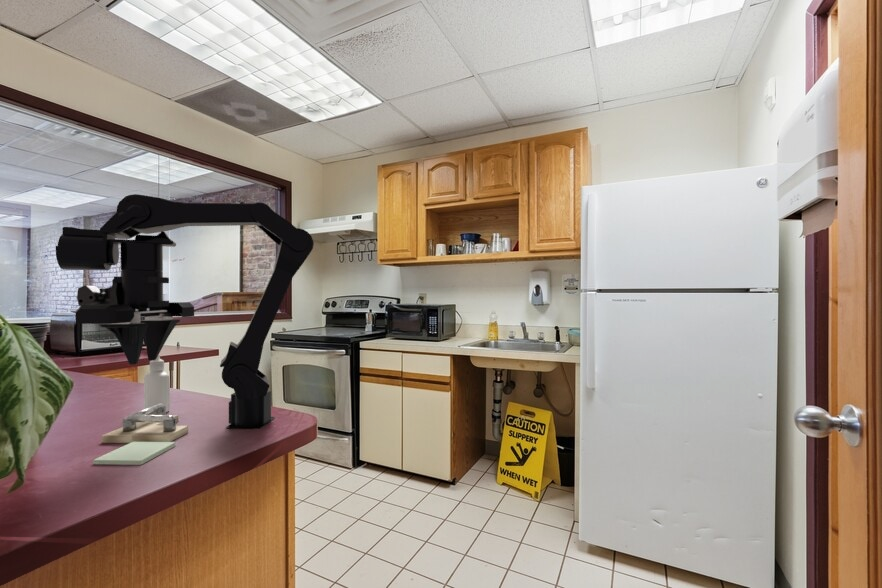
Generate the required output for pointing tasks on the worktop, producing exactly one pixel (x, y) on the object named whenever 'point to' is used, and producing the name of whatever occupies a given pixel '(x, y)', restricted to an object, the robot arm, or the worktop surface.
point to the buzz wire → (147, 427)
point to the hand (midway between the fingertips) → (142, 362)
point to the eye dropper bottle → (157, 385)
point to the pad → (135, 453)
